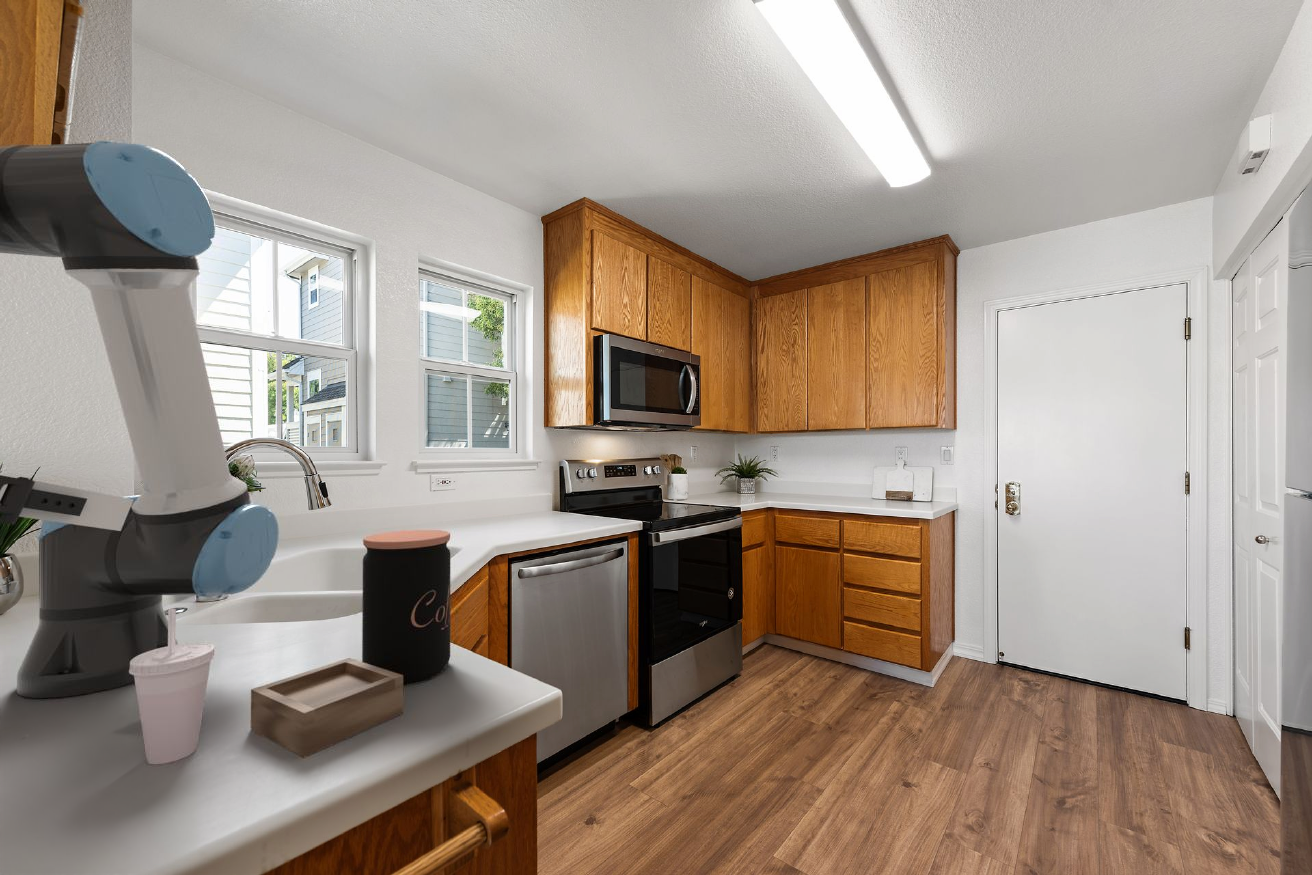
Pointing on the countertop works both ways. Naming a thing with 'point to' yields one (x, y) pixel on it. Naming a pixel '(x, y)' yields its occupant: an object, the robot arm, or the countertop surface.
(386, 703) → the wooden tray
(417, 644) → the coffee jar
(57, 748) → the countertop surface
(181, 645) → the smoothie
